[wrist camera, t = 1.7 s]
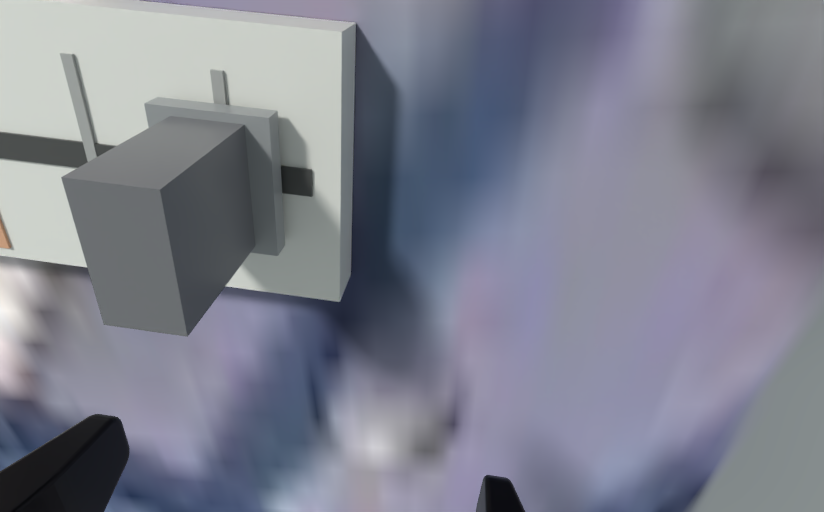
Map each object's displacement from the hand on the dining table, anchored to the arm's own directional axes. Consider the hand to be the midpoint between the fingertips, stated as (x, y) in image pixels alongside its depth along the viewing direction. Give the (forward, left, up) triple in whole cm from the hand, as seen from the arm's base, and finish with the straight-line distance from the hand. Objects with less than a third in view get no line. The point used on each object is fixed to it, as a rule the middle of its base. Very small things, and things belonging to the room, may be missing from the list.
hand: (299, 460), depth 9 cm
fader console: (+12, 0, -13) cm, 18 cm away
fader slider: (+6, 0, -11) cm, 12 cm away
